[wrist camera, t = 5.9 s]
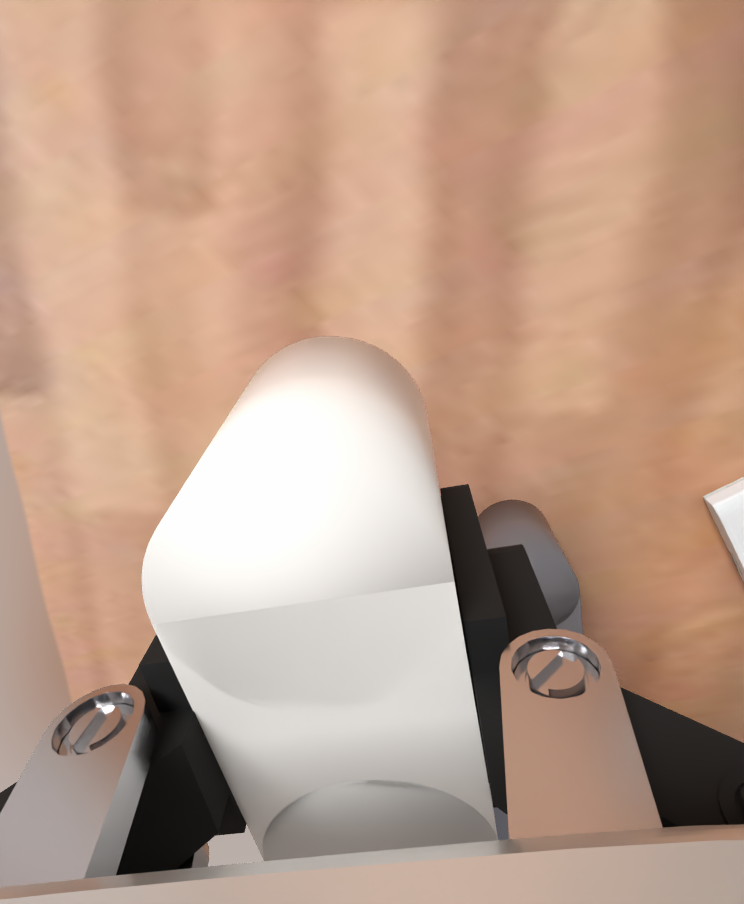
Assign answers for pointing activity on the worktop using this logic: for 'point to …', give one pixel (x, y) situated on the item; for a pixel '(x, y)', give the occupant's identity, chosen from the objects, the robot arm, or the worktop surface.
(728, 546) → the external hard drive
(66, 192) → the worktop surface
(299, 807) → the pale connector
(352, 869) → the robot arm
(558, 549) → the charcoal connector
